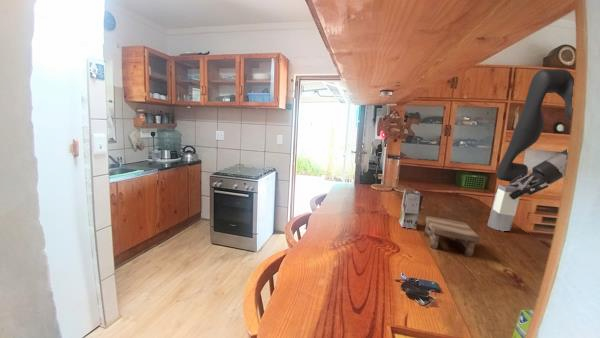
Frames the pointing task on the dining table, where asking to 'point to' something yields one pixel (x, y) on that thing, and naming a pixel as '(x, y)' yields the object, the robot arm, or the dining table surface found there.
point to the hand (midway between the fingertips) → (507, 195)
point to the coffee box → (410, 208)
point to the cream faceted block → (505, 200)
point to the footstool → (450, 233)
